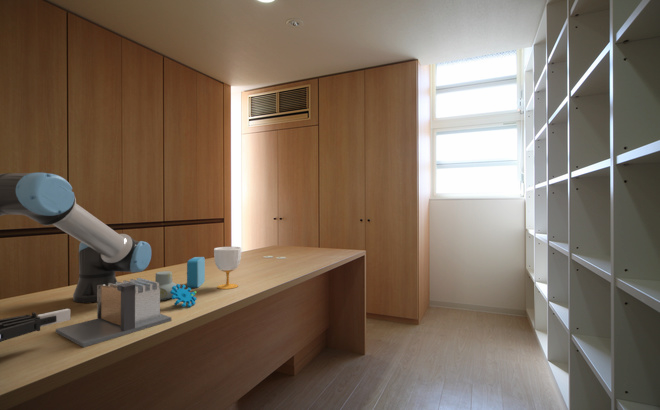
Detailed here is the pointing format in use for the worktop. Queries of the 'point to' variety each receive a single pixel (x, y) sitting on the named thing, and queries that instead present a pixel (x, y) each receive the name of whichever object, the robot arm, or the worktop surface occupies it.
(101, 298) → the bar
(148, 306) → the heat sink
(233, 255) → the cup
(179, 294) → the gear
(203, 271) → the data package
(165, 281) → the air freshener
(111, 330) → the cooler board
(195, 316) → the worktop surface
